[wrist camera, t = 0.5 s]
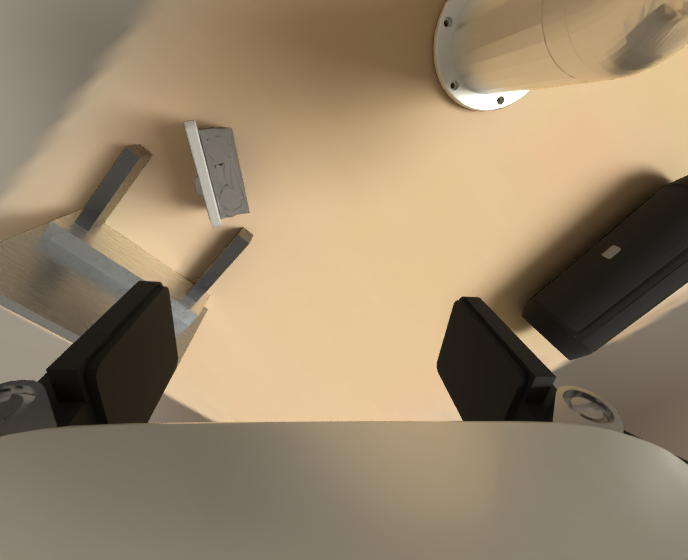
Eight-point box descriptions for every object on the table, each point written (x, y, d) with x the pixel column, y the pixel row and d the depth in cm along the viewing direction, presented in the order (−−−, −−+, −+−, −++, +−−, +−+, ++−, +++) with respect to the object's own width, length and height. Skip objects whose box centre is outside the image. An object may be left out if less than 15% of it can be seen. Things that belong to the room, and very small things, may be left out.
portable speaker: (663, 162, 42) (759, 174, 33) (693, 210, 45) (788, 234, 36) (505, 300, 49) (548, 341, 40) (541, 333, 52) (588, 378, 44)
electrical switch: (187, 121, 35) (161, 122, 27) (237, 117, 36) (226, 117, 27) (211, 208, 39) (194, 232, 31) (255, 203, 40) (250, 225, 32)
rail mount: (121, 130, 35) (15, 137, 22) (266, 245, 42) (247, 300, 29) (60, 221, 38) (-61, 273, 26) (203, 313, 45) (162, 389, 33)
